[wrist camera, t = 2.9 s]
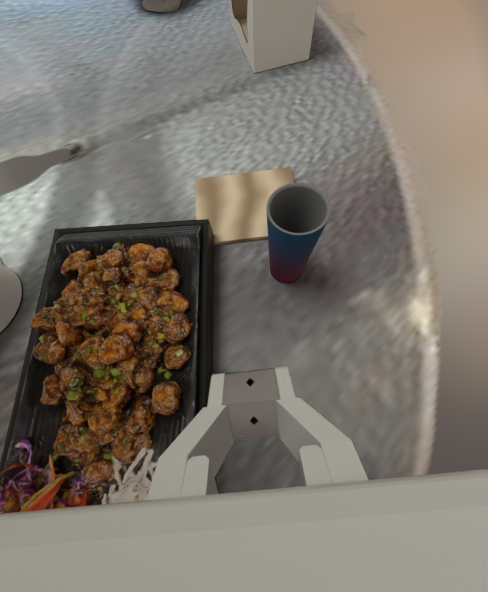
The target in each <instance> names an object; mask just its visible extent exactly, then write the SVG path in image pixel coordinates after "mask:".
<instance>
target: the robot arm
mask: <svg viewBox="0 0 488 592" xmlns="http://www.w3.org/2000/svg"><path fill="white" fill-rule="evenodd" d="M21 295H22V288H21V283H20V280H19V278H18V276H17V275H16V274H15V272H13V271H12V270H11V269H9V268H7V267H6V266H4V265H3V264H2V262H1V260H0V332H1V331H2V330H3V329H4V328H5V327H6V326H7V325H8V324H9V323H10V321H11V320H12V318H13V317H14V315H15V313H16V311H17V309H18V307H19V304H20V301H21ZM277 436H279V437H280V439H281V440H282V441H283V443H284V444H285V445H286V446H287V448H288V449H289V450H290V451H291V453H292V454H293V455H294V457H295V458H296V459H297V460H298V462H299V463H300V480H301V486H299V487H288V488H278V489H267V490H256V491H244V492H233V493H222V494H219V493H218V490H217V486H216V482H215V479H214V478H215V476H216V474H217V472H218V470H219V469H220V467H221V465H222V463H223V461H224V460H225V458H226V456H227V454H228V452H229V450H230V449H231V447H232V445H233V443H234V441H236V440H244V439H252V438H256V437H257V438H262V437H277ZM0 592H488V469H484V470H473V471H463V472H451V473H442V474H429V475H418V476H407V477H396V478H385V479H374V480H368V478H367V476H366V473H365V471H364V469H363V466H362V464H361V462H360V459H359V457H358V455H357V452H356V450H355V448H354V445H353V443H352V441H351V440H350V439H349V438H348V437H347V436H345V435H344V434H343V433H342V432H341V431H339V430H338V429H337V428H336V427H335V426H333V425H332V424H331V423H330V422H329V421H327V420H326V419H325V418H324V417H323V416H321V415H320V414H319V413H318V412H317V411H315V410H314V409H313V408H312V407H311V406H309V405H308V404H307V403H306V402H305V401H303V400H302V399H301V398H296V396H295V392H294V388H293V385H292V381H291V377H290V373H289V369H288V367H287V366H285V367H277V368H270V369H262V370H253V371H242V372H230V373H220V374H213V375H212V377H211V383H210V390H209V397H208V405H207V407H203V408H202V410H201V411H200V412H199V413H198V414H197V415H196V416H195V418H194V419H193V420H192V421H191V422H190V423H189V424H188V425H187V427H186V428H185V429H184V430H183V431H182V432H181V433H180V435H179V436H178V437H177V438H176V439H175V440H174V441H173V443H172V444H171V445H170V446H169V447H168V448H167V449H166V451H165V452H164V453H163V454H162V455H161V456H160V457H159V459H158V462H157V466H156V469H155V473H154V476H153V480H152V483H151V486H150V490H149V493H148V497H147V500H145V501H134V502H123V503H112V504H101V505H90V506H79V507H68V508H58V509H47V510H36V511H25V512H14V513H3V514H0Z"/></svg>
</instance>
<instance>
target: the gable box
mask: <svg viewBox="0 0 488 592" xmlns="http://www.w3.org/2000/svg"><path fill="white" fill-rule="evenodd" d="M228 1H229V13H230V22H231V25H232V27H233V29H234V31H235V33H236V36H237V38H238V40H239V42H240V44H241V47H242V49H243V51H244V53H245V55H246V58H247V60H248V62H249V64H250V66H251V68H252V71H253V73H258V72H262V71H266V70H270V69H274V68H278V67H282V66H285V65H289V64H293V63H297V62H301V61H305V60H308V59H309V55H310V48H311V41H312V34H313V27H314V20H315V13H316V7H317V0H228Z"/></svg>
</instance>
